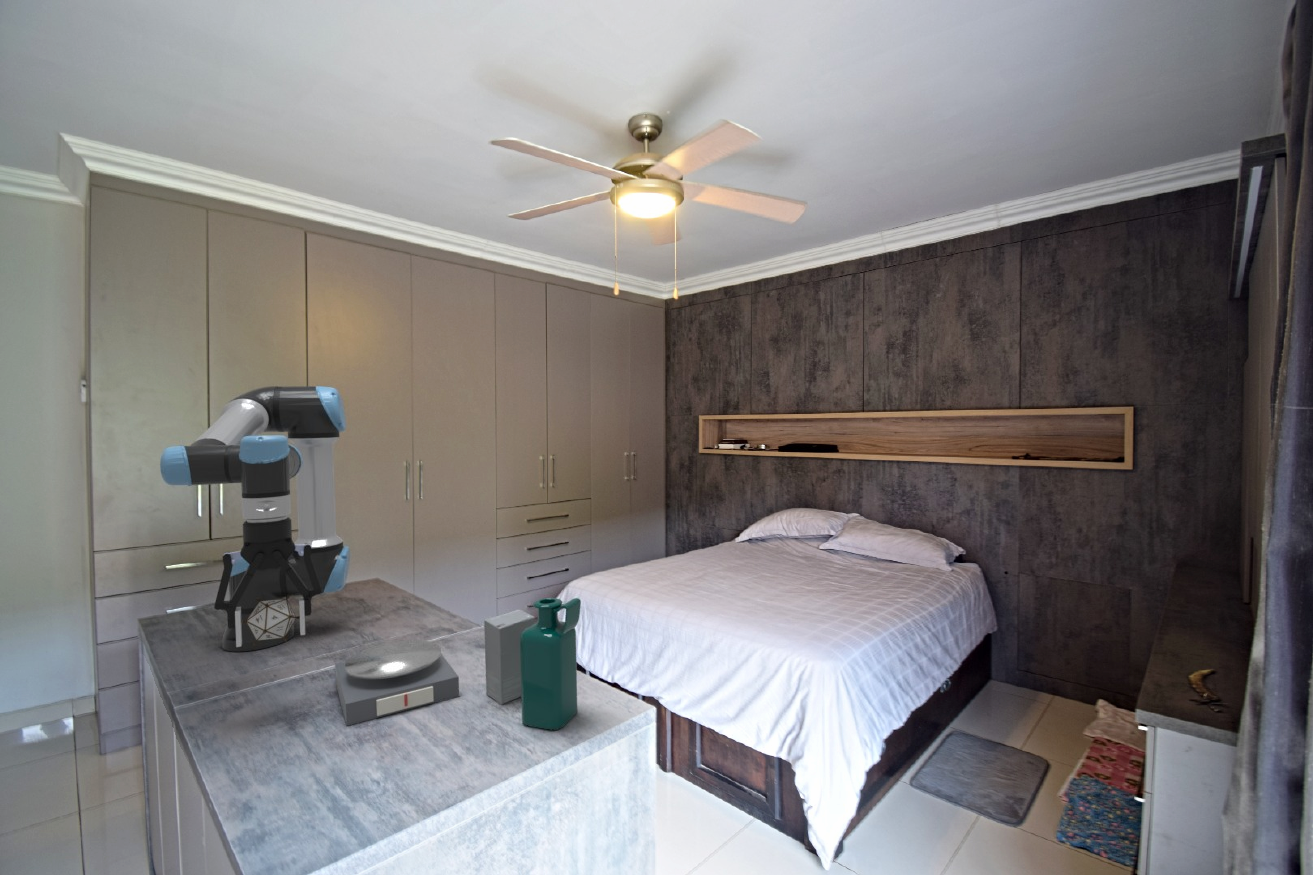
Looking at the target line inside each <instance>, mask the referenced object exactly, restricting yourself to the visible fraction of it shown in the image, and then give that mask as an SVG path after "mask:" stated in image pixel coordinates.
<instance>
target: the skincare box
mask: <svg viewBox="0 0 1313 875" xmlns="http://www.w3.org/2000/svg"><path fill="white" fill-rule="evenodd" d="M483 621H484V622H483V624H484V625H483V626H484V654H485V655H484V657H485V658H484V659H485V664H484V665H485V685H486V686H485V690H486V691H485V692H486V695H487V696H489V697H491V699H493V700H494V701H496V702H497V703H498V704H500V705H505V704H507V703H509V702H512V701H513V700H516V699H518V698H521V666H520V636H521V634H522V632H523V631H524V630H525V629H527V628H528V627H530V626H532V625H533V624H535V623H536V617H535V616H534V615H532V614H530V613H528V612H525V611H524V610H522V609H519V608H518V609H514V610H512V611H511V610H510V611H508V612H506V613H503V614H499V615H496V616H492V617H488V618H485V619H484V620H483Z"/></svg>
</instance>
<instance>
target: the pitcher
mask: <svg viewBox="0 0 1313 875" xmlns="http://www.w3.org/2000/svg"><path fill="white" fill-rule="evenodd" d="M581 602H582V601H581V599H580V598H578V597H574V598H572V599H571V600H569V601H567V602H565V603H563V600H562V599H560V598H557V597H543V598H539V599H536V600H534V602H532V606H533V608H535V609H537V621H536V622H535V624H533V625H532V626H530V627H528V628H527V629H525V630H524V631H523V632H522V634H521V636H520V666H521V697H520V703H521V704H520V705H521V707H520V708H521V721H522V723H523V724H524V725H525V726H527V725H528V727H532V726H533V728H537V727H538V729H542V728H545V729H544V730H547V729H550V730H549V731H553V730H552V729H557V728H560V729H562V728H563V727H564V726H565V725H566V724H567V723H568V722H569V721H570V720H572V718H574V717H575V715H577V713H578V680H577V678H578V674H577V672H578V670H577V669H578V668H577V666H578V665H577V663H578V662H577V632H576V627H577V625H578V623H579V620H580V615H581V604H582V603H581ZM563 609H565V618H564V621H561V620H559V612H560V611H562V610H563ZM561 727H562V728H561ZM557 730H558V729H557Z"/></svg>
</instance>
